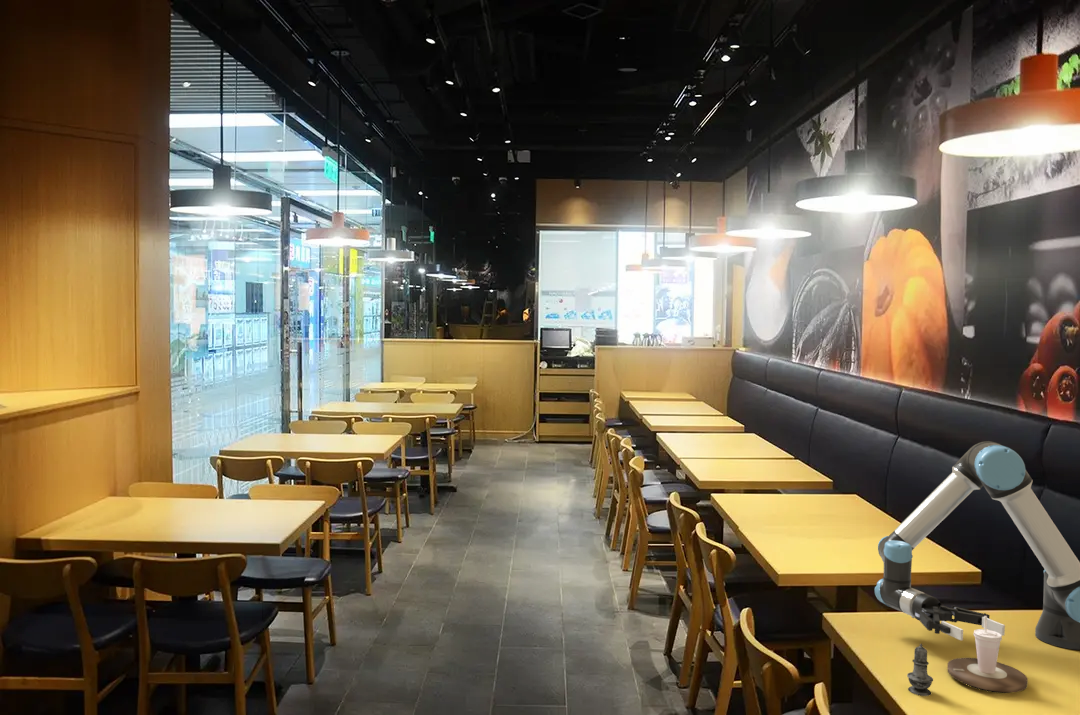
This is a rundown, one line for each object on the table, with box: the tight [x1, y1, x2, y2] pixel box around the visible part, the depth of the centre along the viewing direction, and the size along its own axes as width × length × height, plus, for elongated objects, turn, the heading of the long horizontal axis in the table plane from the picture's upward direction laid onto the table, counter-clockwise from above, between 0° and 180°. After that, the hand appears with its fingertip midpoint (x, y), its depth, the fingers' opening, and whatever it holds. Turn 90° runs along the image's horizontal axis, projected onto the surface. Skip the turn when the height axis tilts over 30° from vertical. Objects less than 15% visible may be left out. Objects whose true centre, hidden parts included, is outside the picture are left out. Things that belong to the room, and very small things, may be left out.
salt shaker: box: [906, 643, 934, 697], centre depth 199 cm, size 6×6×12 cm
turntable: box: [946, 657, 1029, 693], centre depth 206 cm, size 18×18×2 cm
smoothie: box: [973, 616, 1003, 674], centre depth 206 cm, size 6×6×14 cm
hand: (983, 632), depth 207 cm, fingers open, 13 cm apart
